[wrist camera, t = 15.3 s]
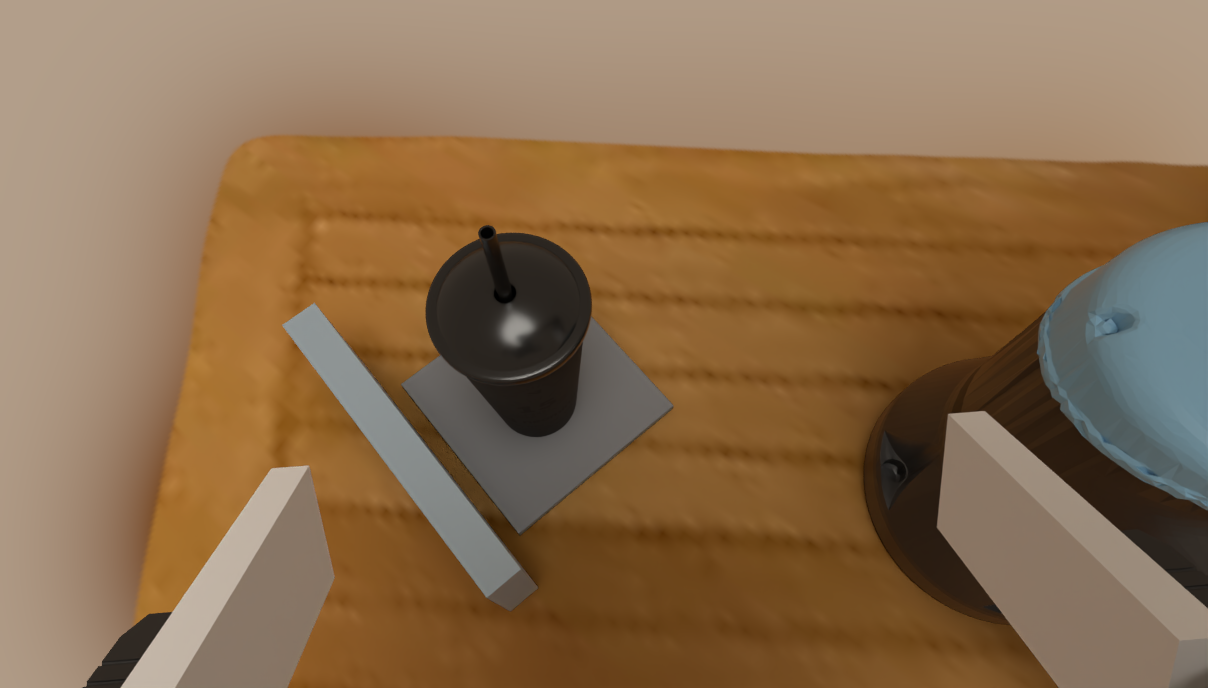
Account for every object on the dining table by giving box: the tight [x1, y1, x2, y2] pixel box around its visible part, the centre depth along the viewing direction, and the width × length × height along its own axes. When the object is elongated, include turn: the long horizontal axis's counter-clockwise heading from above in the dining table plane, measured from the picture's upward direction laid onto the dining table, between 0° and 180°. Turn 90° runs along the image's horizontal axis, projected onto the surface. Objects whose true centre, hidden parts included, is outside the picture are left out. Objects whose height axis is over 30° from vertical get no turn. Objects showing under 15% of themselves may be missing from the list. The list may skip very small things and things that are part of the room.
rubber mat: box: [401, 317, 673, 535], centre depth 49 cm, size 12×12×1 cm
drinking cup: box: [426, 225, 592, 437], centre depth 40 cm, size 8×8×20 cm
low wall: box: [282, 303, 538, 611], centre depth 44 cm, size 2×18×9 cm, turn 40°
